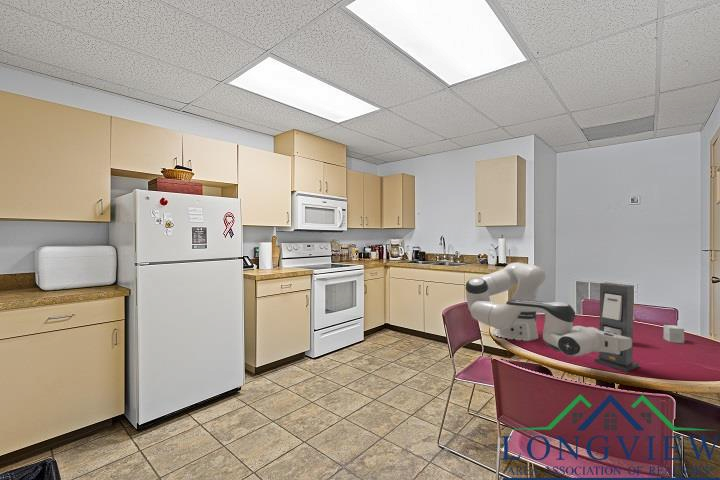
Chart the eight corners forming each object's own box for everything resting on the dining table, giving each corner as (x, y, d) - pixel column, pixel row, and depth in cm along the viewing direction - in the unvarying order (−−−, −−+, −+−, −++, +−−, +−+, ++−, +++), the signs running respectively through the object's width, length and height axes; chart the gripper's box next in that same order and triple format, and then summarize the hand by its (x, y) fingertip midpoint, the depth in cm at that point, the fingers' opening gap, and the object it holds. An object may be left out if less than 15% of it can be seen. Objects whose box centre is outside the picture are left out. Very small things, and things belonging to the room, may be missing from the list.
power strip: (627, 372, 135) (628, 287, 134) (594, 361, 146) (595, 283, 145) (639, 366, 140) (640, 285, 139) (606, 357, 151) (607, 281, 150)
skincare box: (684, 343, 167) (684, 328, 167) (669, 342, 169) (669, 327, 169) (677, 339, 173) (677, 325, 173) (662, 338, 175) (663, 324, 175)
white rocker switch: (618, 320, 137) (621, 295, 138) (601, 316, 142) (604, 293, 143) (620, 320, 138) (623, 296, 139) (604, 317, 143) (607, 293, 144)
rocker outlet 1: (618, 354, 138) (620, 329, 138) (601, 350, 143) (604, 326, 143) (620, 354, 138) (622, 329, 139) (604, 349, 144) (606, 326, 144)
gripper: (564, 339, 142) (582, 334, 148) (620, 355, 124) (638, 348, 130) (564, 324, 142) (582, 320, 148) (621, 338, 124) (639, 332, 130)
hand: (609, 333), depth 139 cm, fingers closed
